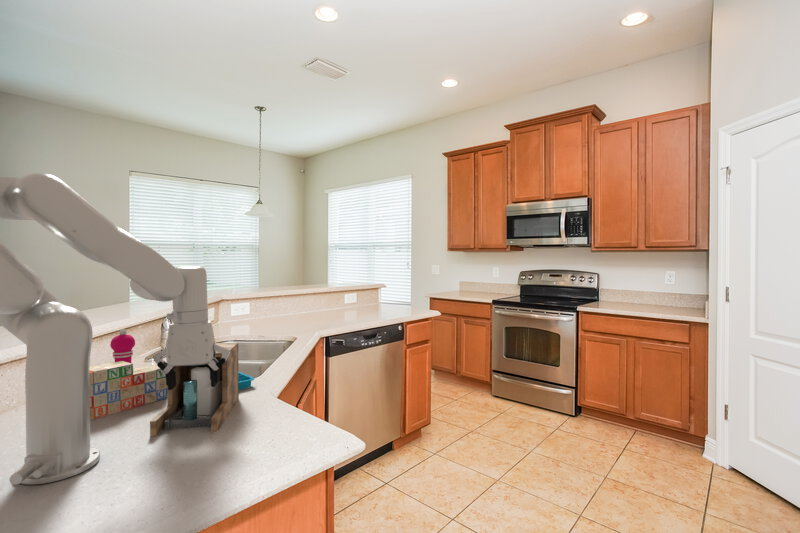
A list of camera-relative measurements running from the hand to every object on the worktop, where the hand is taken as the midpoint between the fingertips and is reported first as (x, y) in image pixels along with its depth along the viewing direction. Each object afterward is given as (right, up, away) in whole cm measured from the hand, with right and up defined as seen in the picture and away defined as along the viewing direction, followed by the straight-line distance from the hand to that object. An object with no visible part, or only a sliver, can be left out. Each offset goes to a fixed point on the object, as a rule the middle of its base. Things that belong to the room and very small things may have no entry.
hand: (193, 386), depth 98 cm
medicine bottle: (-2, -10, +10) cm, 14 cm away
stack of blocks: (-26, -10, +12) cm, 30 cm away
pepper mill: (-31, -9, +20) cm, 38 cm away
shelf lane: (-2, -9, +6) cm, 12 cm away
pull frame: (-2, -9, +7) cm, 12 cm away
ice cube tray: (-7, -10, +33) cm, 35 cm away
